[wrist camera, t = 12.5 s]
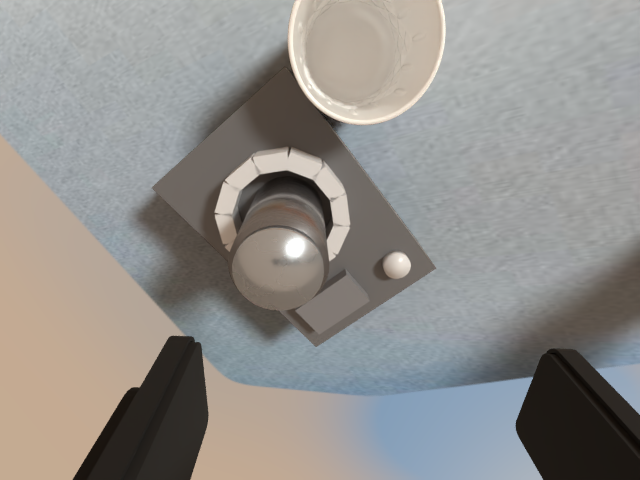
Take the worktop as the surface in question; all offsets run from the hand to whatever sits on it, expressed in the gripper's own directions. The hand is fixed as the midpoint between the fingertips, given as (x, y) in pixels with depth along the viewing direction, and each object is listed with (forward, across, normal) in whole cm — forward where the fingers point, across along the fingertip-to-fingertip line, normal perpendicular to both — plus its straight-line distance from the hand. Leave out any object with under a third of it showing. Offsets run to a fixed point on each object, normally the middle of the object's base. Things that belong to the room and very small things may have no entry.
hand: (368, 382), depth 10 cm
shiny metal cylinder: (+17, +3, +1) cm, 17 cm away
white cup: (+23, 0, -10) cm, 25 cm away
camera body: (+23, +2, +2) cm, 23 cm away
